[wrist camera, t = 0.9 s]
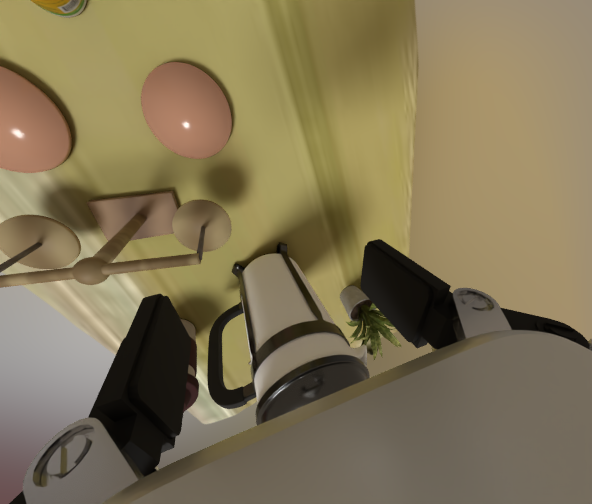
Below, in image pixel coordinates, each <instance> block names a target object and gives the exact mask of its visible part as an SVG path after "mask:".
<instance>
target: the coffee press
mask: <svg viewBox="0 0 592 504" xmlns="http://www.w3.org/2000/svg"><path fill="white" fill-rule="evenodd" d="M232 273H233V274H235V275H236V276H237V277H238V279H239V282H240V299H241V297H242V299H241V302H240V303H239V304H237V305H235V306H234V307H232V308H230V309H228V310H227V311H225V312H224V313H223V314H222V315H221V316H219V318H218V319H217V320H216V321H215V323H214V324H213V326H212V328H211V331H210V336H209V347H208V389H209V393H210V395H211V397H212V399H213V400H214V401H215V402H216V403H217V404H218V405H220V406H221V407H223V408H227V409H233V408H238V407H241V406H243V405H245V404H247V401H249V400H251V399H253V398H255V397H257V403H258V404H257V408H256V414H255V415H256V423H257V426H258V425H260V424H262V423H265V422H267V421H269V420H272V419H274V418H276V417H279V416H281V415H283V414H286V413H288V412H290V411H293V410H295V409H297V408H300V407H302V406H304V405H307V404H309V403H311V402H314V401H316V400H319V399H321V398H323V397H326V396H328V395H330V394H333V393H335V392H338V391H340V390H342V389H345V388H347V387H349V386H352V385H354V384H357V383H359V382H361V381H364V380H366V379H368V378H369V372H368V369H367V368H366V366H367V348H366V345H362V346H360V347H358V348H351V347H350V345H349V342H348V341H347V339H346V337H345V336H344V334H343V333H342V331H341V330H340V328H339V327H338V326H336V325H335V323H334V322H333V320H332V319H331V317H330V315H329V314H328V312H327V311H326V309H325V307H324V306H323V304H322V303H321V301H320V299H319V298H318V296H317V295H316V293H315V291H314V290H313V288H312V287H311V285H310V283H309V282H308V280H307V279H306V277H305V275H304V274H303V272H302V271H301V269H300V268H299V266H298V265H297V263H296V262H295V261H294V260H293V259H291V258H290V257H288V255H287V244H284V243H279V244H278V246H277V253H276V254H267V255H263V256H260V257H258V258H256V259H255V260H253V261H252V262H251V263H250V264H249V265H248V266H247V267H246V268H244V267H242V266H241V265H239V264H234V266H233V269H232ZM242 313H244V317H245V324H246V331H247V337H248V344H249V350H250V357H251V377H252V382H251V383H250V384H248V385H246V386H244V387H240V388H237V389H234V390H228V389H226V387H225V385H224V382H223V365H222V332H223V329H224V327H225V325H226V324H227V323H228V322H229V321H230V320H231V319H233V318H234V317H236V316H238V315H240V314H242Z"/></svg>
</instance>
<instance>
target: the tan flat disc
mask: <svg viewBox="0 0 592 504" xmlns="http://www.w3.org/2000/svg"><path fill="white" fill-rule="evenodd" d="M71 146H72V139H71V133H70V129H69V126H68V124H67V122H66V120H65V118H64V116H63V114H62V113H61V111H60V110H59V109H58V107H57V106H56V105H55V104H54V102H53V101H52V100H51V99H50V98H49V97H48V96H47V95H46V94H45V93H44V92H43V91H42V90H40V89H39V88H38V87H37V86H36V85H34V84H33V83H31V82H30V81H29V80H27V79H26V78H24V77H22V76H20V75H19V74H17V73H15V72H13V71H11V70H9V69H7V68H4V67H2V66H0V168H2V169H6V170H10V171H16V172H24V173H36V172H43V171H47V170H51V169H53V168H56V167H58V166H59V165H61V164H62V163H63V162H64V161H65V160H66V159H67V157H68V156H69V153H70V151H71Z"/></svg>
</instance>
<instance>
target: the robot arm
mask: <svg viewBox="0 0 592 504" xmlns="http://www.w3.org/2000/svg"><path fill="white" fill-rule="evenodd" d="M361 289H362V291H363V293H364V294H365V295H366V296H367V297H368V298H369V299H370V300H371V301H372V302H373V304H374V305H375V306H376V307H377V308H378V309H379V310H380V311H381V312H382V314H383V315H384V316H385V317H386V318H387V319H388V320H389V321H390V322H391V324H392V325H393V326H394V327H395V328H396V329H397V330H398V331H399V332H400V333H401V335H402V336H403V337H404V338H405V339H406V340H407V341H408V342H412V343H413V344H414V345H415V347H416V348H419V347H421V346H424V345H426V344H427V343H429V344H430V345H431V346H432V352H431V353H428V354H426V355H424V356H422V357H419V358H416V359H414V360H412V361H409V362H407V363H404V364H402V365H400V366H397V367H395V368H393V369H390V370H388V371H385V372H383V373H381V374H378V375H376V376H373V377H371V378H368V379H366V380H364V381H361V382H359V383H357V384H354V385H352V386H349V387H347V388H345V389H342V390H340V391H338V392H335V393H333V394H330V395H328V396H326V397H323V398H321V399H319V400H316V401H314V402H311V403H309V404H307V405H304V406H302V407H300V408H297V409H295V410H293V411H290V412H288V413H286V414H283V415H281V416H279V417H276V418H274V419H272V420H269V421H267V422H265V423H262V424H260V425H258V426H255V427H253V428H251V429H248V430H246V431H244V432H241V433H239V434H237V435H234V436H232V437H230V438H227V439H225V440H223V441H221V442H218V443H216V444H214V445H212V446H209V447H207V448H205V449H203V450H200V451H198V452H196V453H194V454H191V455H189V456H187V457H185V458H183V459H180V460H178V461H176V462H174V463H171V464H170V465H167V466H166V467H164V468H162V469H159V468H158V466H157V465H158V464H159V461H160V456H161V453H162V452H165V451H167V450H170V449H172V448H174V445H175V437H176V436H177V435H179V434H180V432H181V426H182V418H183V410H184V401H185V393H186V384H187V376H188V367H189V359H190V350H191V339H190V336H189V334H188V332H187V331H186V329H185V327H184V325H183V323H182V321H181V320H180V318H179V316H178V314H177V312H176V310H175V309H174V307H173V305H172V303H171V301H170V299H169V298H168V296H163V295H162V294H157V295H153V296H149V297H145V298H143V300H142V302H141V304H140V306H139V309H138V311H137V313H136V316H135V318H134V320H133V322H132V325H131V327H130V329H129V332H128V334H127V336H126V338H124V340H123V341H122V343H121V345H120V347H119V350H118V352H117V354H116V356H115V359H114V361H113V363H112V365H111V368H110V370H109V372H108V374H107V377H106V379H105V381H104V383H103V386H102V388H101V390H100V392H99V395H98V397H97V399H96V401H95V403H94V406H93V408H92V410H91V412H90V415H89V417H88V418H85V419H81V420H78V421H76V422H74V423H73V424H71V425H69V426H67V427H66V428H64V429H63V430H62V431H60V432H59V433H58V434H56V435H55V436H54V437H53V438H52V439H51V440H50V441H49V442H48V443H47V444H46V445H45V446H44V447H43V448H42V449H41V451H40V452H39V453H38V454H37V455H36V457H35V458H34V460H33V462H32V463H31V465H30V467H29V468H28V469H27V472H26V475H25V478H24V480H23V491H22V492H21V493H20V494H19V495H18V496H17V497H16V498H15V499H14V500H13V501H12V502H11V503H9V504H592V339H590V340H589V341H587V340H586V339H585V338H584V337H583V335H581V334H580V333H578V332H577V331H576V330H574V329H573V328H571V327H570V326H568V325H566V324H564V323H561V322H558V321H555V320H552V319H548V318H544V317H539V316H535V315H530V314H526V313H521V312H517V311H513V310H508V309H504V308H500V306H499V304H498V303H497V302H496V301H495V300H494V299H493V298H492V297H490V296H489V295H487V294H485V293H483V292H481V291H478V290H475V289H471V288H458V289H456V290H455V291H454V292H453V293H451V292H450V291H449V289H450V285H448V284H447V283H445V282H443V281H442V280H441V279H439V278H438V277H436V276H434V275H433V274H432V273H430V272H429V271H427V270H426V269H424V268H422V267H421V266H420V265H418V264H417V263H415V262H414V261H412V260H411V259H409V258H408V257H406V256H405V255H403V254H402V253H400V252H399V251H397V250H396V249H394V248H393V247H391V246H390V245H388V244H387V243H385V242H384V241H382V240H380V239H378V240H374V241H370V242H368V243H367V245H366V246H365V250H364V259H363V268H362V276H361Z"/></svg>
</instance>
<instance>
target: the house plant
mask: <svg viewBox="0 0 592 504" xmlns="http://www.w3.org/2000/svg"><path fill="white" fill-rule="evenodd" d="M340 299H341V301H342V303H343V305H344V307H345V309H346V311H347V314H348V316H349V318H350V319H351V320H352V321H351V322H347V324H348V325H350V326H357V325H358V327H357V329H356V330H355V332H354V333H353V334H352V336H351V337H355V338H354V340H353V341H352V342H354V341H355V340H360V339H363V342H362V345H366V344H367V341H368V340H369V338H370V339H371V347H372V350H373V357H374V360H375V358H376V355H377V346H378V348H379V352H380V354H381V356H382V348H381V341H380V336H379V333H378V331H379V332H380V334H382V335H383V336H384V337H385V338H386V339H388V340H389V341H390V342H391V343H393V344H394V345H395V346H400V347H401V345H400V343H399V341H398V340H397V339H396V338H395V336H394V335H393V334H392V333H391V332H390V330H393V329H389V328H387V327H386V326H385V325H384V323H385V324H387V325H389V326H391V327H394V326H393V325H392V324H391V322H389V320H388V319H387V318H383V317H385V316H383V314H382V312H381V311H377V310H375V308H377V307H376V306H375V305H374V304H373V302H372V301H371V300H370V299H369V298H368V297H367V296H366V295H365V294H364V293H363V292H362V291H361V290H360V289H358V288H357V287H356V286H348V287H346V288H345V289H344V290H343V291H342V292H341V294H340ZM376 314H377V315H376ZM378 315H380V316H383V317H380V316H378ZM362 321H363V331H362V334H361V335H360V336H359V337H358V338H357V336H358V334H359V333H360V331H361V327H362ZM366 327H367V333H366ZM394 329H396V328H394ZM365 333H366V337H365ZM356 338H357V339H356ZM352 342H351V343H352ZM351 343H350V344H351ZM362 345H361V346H362Z"/></svg>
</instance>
